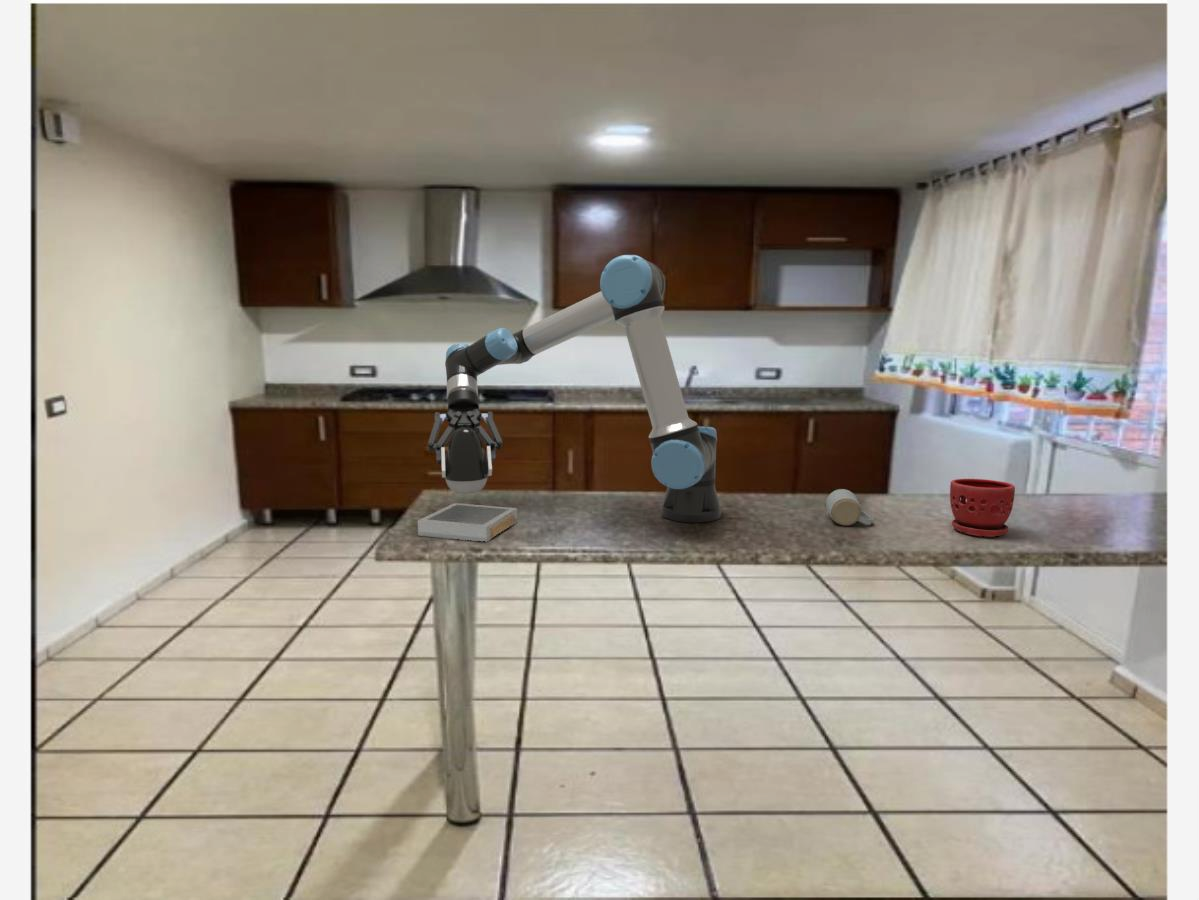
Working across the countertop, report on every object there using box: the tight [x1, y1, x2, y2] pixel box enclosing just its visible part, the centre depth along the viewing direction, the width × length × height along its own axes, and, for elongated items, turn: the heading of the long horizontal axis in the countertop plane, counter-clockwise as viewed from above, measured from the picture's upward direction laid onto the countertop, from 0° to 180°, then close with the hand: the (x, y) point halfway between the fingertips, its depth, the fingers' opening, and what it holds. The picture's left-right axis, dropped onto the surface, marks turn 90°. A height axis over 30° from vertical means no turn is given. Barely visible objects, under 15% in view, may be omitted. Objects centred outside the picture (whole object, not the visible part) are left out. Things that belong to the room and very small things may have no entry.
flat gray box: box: [417, 502, 518, 543], centre depth 156 cm, size 18×17×4 cm
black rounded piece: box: [443, 427, 489, 495], centre depth 154 cm, size 10×10×15 cm
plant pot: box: [949, 478, 1016, 538], centre depth 156 cm, size 13×13×12 cm
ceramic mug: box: [825, 488, 874, 527], centre depth 163 cm, size 11×8×8 cm
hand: (467, 473), depth 151 cm, fingers closed on black rounded piece, 10 cm apart
